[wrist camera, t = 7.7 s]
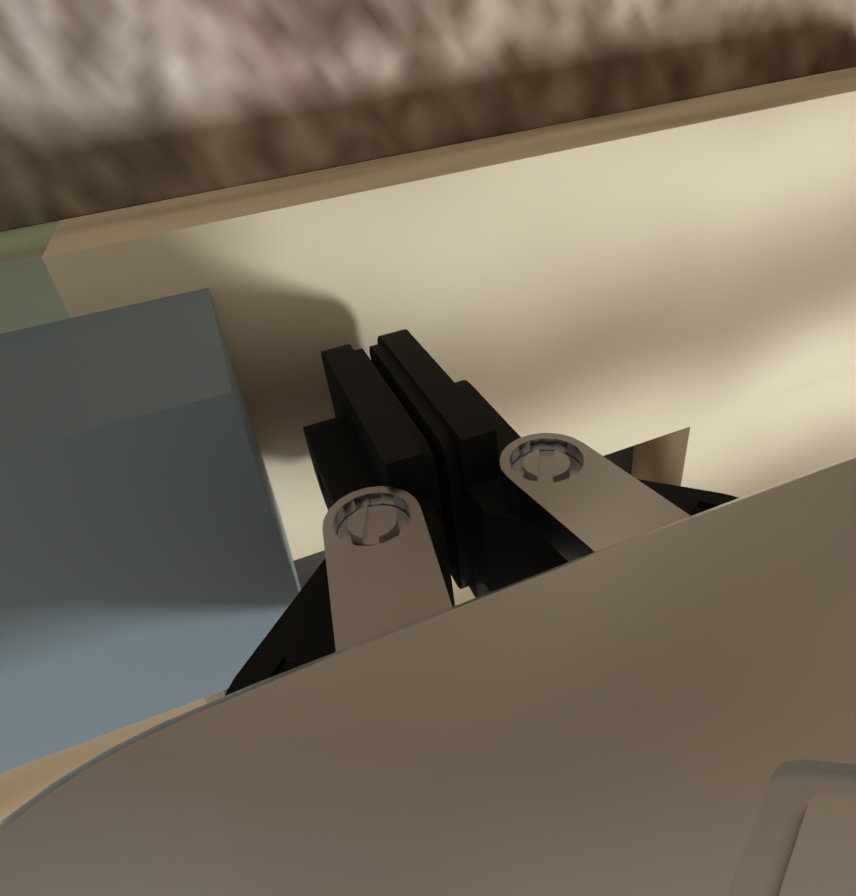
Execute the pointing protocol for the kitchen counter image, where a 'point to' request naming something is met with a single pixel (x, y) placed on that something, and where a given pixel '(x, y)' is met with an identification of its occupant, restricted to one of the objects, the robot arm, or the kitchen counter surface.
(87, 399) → the slate block
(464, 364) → the board
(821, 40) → the kitchen counter surface
